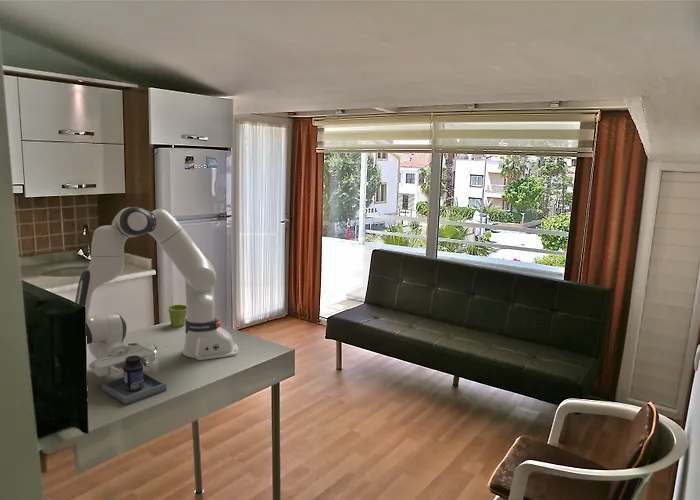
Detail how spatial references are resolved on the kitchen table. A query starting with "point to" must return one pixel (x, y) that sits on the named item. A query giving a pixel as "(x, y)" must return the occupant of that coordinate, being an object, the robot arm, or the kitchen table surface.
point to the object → (177, 315)
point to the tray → (127, 397)
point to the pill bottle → (133, 374)
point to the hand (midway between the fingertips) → (134, 368)
